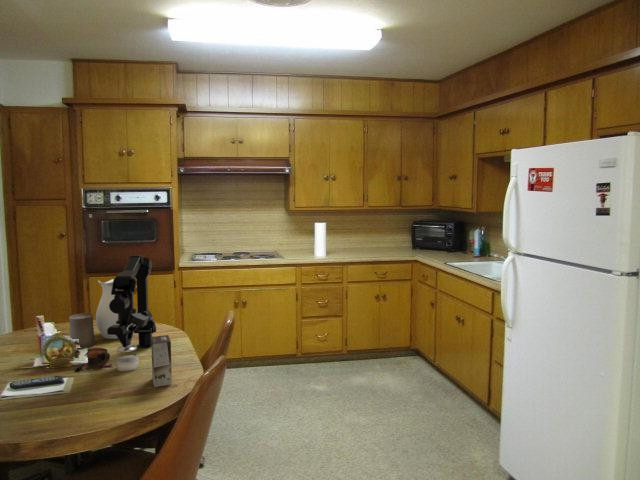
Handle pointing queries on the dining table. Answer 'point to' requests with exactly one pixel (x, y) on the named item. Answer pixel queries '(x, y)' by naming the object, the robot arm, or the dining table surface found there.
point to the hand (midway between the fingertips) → (126, 345)
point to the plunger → (128, 348)
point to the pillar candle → (82, 329)
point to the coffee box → (161, 360)
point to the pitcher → (106, 311)
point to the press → (127, 363)
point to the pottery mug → (96, 357)
